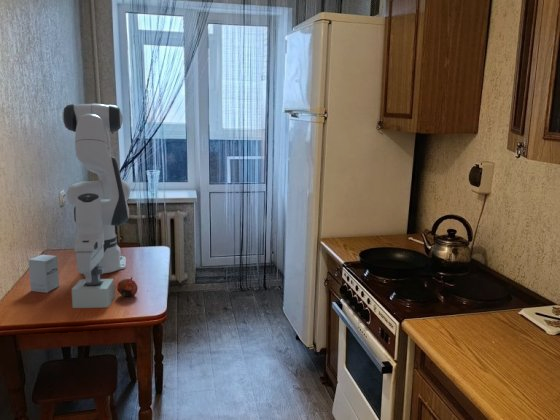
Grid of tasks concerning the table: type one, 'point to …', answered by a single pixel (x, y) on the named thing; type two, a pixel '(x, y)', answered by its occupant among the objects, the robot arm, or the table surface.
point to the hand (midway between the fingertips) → (92, 277)
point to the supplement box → (43, 273)
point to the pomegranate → (127, 288)
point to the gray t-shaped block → (96, 276)
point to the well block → (93, 294)
